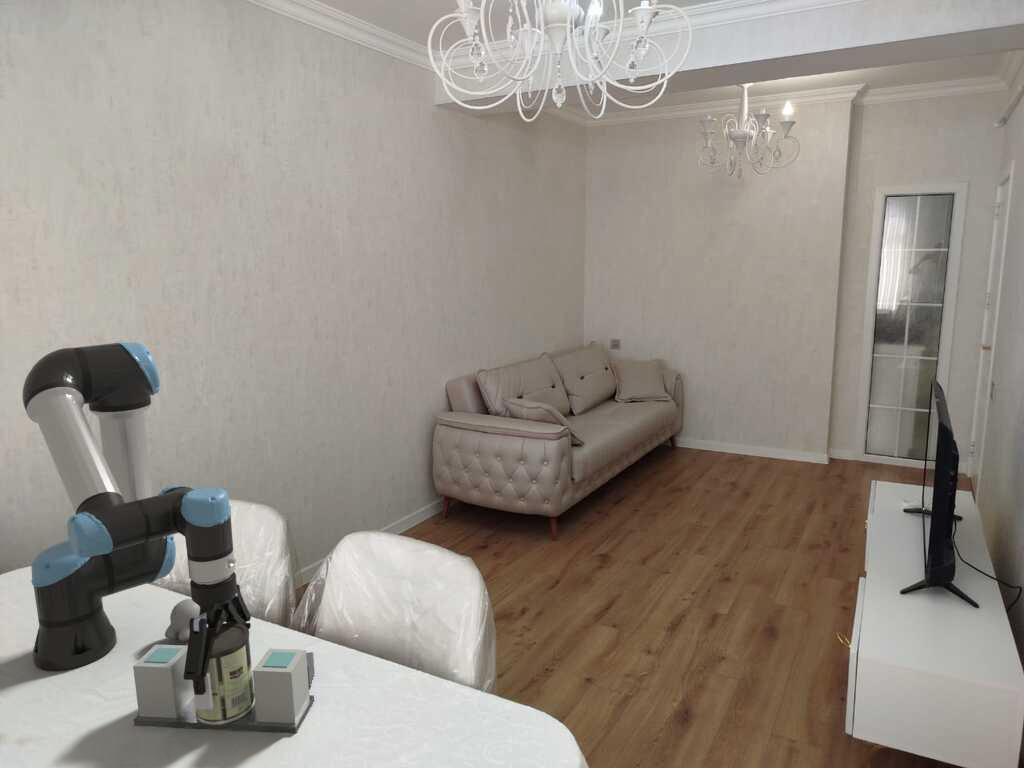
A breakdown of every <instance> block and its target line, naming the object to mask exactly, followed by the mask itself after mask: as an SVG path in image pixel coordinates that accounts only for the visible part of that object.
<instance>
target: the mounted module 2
mask: <svg viewBox="0 0 1024 768" xmlns="http://www.w3.org/2000/svg"><path fill="white" fill-rule="evenodd" d="M306 653H307V650H306V649H291V648H290V649H288V648H286V649H285V648H268V649H267V651H266V652H265V654H264V655H263V656H262V657H261V659H260V660H259V662H258V663H257V664H256V665H255V667H254V668H253V669H252V677H253V687H254V693H255V704H256V715H257V722H278V723H296V721H297V719H298V718H299V716H300V714H301V712H302V711H303V709H304V707H305V706H306V704H307V702H308V700H309V695H310V690H309V685H308V672H307V658H306Z"/></svg>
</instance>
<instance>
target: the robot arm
mask: <svg viewBox="0 0 1024 768" xmlns="http://www.w3.org/2000/svg"><path fill="white" fill-rule="evenodd" d="M160 386H161V380H160V375H159V370H158V367H157V364H156V362H155V360H154V357H153V356H152V353H151V352H150V351H149V349H148V348H147V347H146V346H145V345H143V344H141V343H139V342H113V343H105V344H104V343H103V344H95V345H87V346H85V345H84V346H78V347H65V348H60V349H59V348H58V349H57V350H54V351H51V352H50V353H47V354H46V355H44V356H43V357H41V358H40V359H39V360H38V361H37V362H36V363H35V364H34V365H33V366H32V368H31V369H30V371H29V372H28V374H27V376H26V378H25V380H24V383H23V386H22V403H23V408H24V409H25V411H26V415H27V417H28V419H30V420H31V421H32V422H33V423H35V424H38V428H39V430H40V432H41V434H42V436H43V439H44V441H45V444H46V446H47V449H48V451H49V453H50V455H51V458H52V460H53V463H54V465H55V468H56V470H57V472H58V475H59V478H60V480H61V481H62V484H63V486H64V489H65V491H66V494H67V496H68V498H69V501H70V504H71V505H72V508H73V510H74V512H75V513H74V515H72V516H70V517H69V518H68V520H67V524H66V526H67V528H66V529H67V530H66V531H67V536H68V539H67V540H64V541H60V542H58V543H56V544H53V545H51V546H49V547H47V548H45V549H44V550H42V551H41V552H39V554H37V555H36V556H35V557H34V559H33V560H32V562H31V581H30V582H31V584H32V587H33V592H34V599H35V606H36V611H37V612H36V613H37V619H38V630H37V632H36V633H37V634H36V637H35V642H34V646H33V650H32V654H33V655H32V656H33V661H34V665H35V666H36V667H37V668H38V669H39V670H40V669H41V670H44V671H50V672H51V671H54V672H55V671H57V672H58V671H64V670H71V669H75V668H79V667H82V666H85V665H89V664H91V663H93V662H95V661H98V660H99V659H101V658H103V657H104V656H106V655H107V654H109V653H110V652H111V651H112V650H113V649H114V648H115V646H116V644H117V642H118V641H117V631H116V628H115V627H114V626H113V625H112V623H111V621H110V619H109V617H108V615H107V613H106V612H105V610H104V606H103V605H104V604H103V598H105V597H108V596H111V595H114V594H118V593H120V592H124V591H127V590H130V589H133V588H138V587H140V586H143V585H146V584H152V583H154V582H155V581H158V580H161V579H163V578H165V577H167V576H168V575H169V574H170V573H171V572H172V571H173V569H174V566H175V563H176V555H177V552H176V550H177V548H176V542H175V541H176V540H175V541H174V537H175V534H176V535H177V534H180V535H181V536H183V537H184V538H185V549H186V554H187V567H188V568H187V569H188V576H189V577H188V578H189V579H190V581H189V586H190V595H191V599H192V600H193V601H194V602H195V603H196V604H198V605H199V606H200V613H199V617H198V618H191V619H190V621H189V629H190V634H189V640H187V646H188V648H187V655H186V662H185V670H184V680H193V686H194V693H195V703H196V709H212V708H213V699H212V689H211V679H210V673H207V670H208V665H209V661H210V657H211V653H212V648H213V644H214V640H215V637H216V636H217V635H218V634H219V631H220V627H221V625H222V624H223V623H238V624H242V625H244V626H246V627H247V628H248V630H251V625H252V624H251V622H250V621H251V619H252V617H251V613H250V611H249V608H248V607H247V605H246V603H245V600H244V598H243V595H242V593H241V588H240V584H238V582H237V573H236V572H235V570H236V565H235V563H236V561H237V560H236V558H235V555H234V544H233V543H234V541H233V529H232V526H233V525H232V517H231V514H232V508H231V505H230V500H229V494H228V492H227V491H226V490H225V489H223V488H221V487H213V486H212V487H211V486H209V487H201V488H192V487H189V486H186V485H182V484H172V485H169V486H167V487H166V488H163V490H161V491H159V493H158V495H153V487H152V478H151V477H152V476H151V469H150V468H151V467H150V458H149V457H150V456H149V449H148V447H149V446H148V436H147V427H146V417H145V412H146V411H147V410H148V409H149V407H151V405H152V399H151V398H152V397H151V396H154V395H156V394H158V393H159V391H160ZM87 404H88V410H89V412H90V413H92V414H93V415H95V416H96V417H98V423H99V424H98V425H99V431H100V440H101V447H100V445H99V443H98V441H97V438H96V436H95V434H94V432H93V430H92V428H91V426H90V422H89V420H88V418H87V416H86V414H85V412H84V410H83V409H84V405H87ZM207 628H209V629H213V630H207Z"/></svg>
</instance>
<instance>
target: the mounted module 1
mask: <svg viewBox="0 0 1024 768" xmlns="http://www.w3.org/2000/svg"><path fill="white" fill-rule="evenodd" d="M187 648H188V645H181V644H180V645H179V644H177V645H175V644H154V645H153V646H152V647H151V648H150V649H149V650H148V651H147V652H146V653H145V654H144V655H143V656H141V658H139V660H138V661H137V662H135V663H134V665H132V670H133V678H134V685H135V694H136V701H137V710H138V714H139V716H143V717H166V718H177V717H178V715H179V714H180V713H181V712H182V711H183V709H184V708H185V707H186V706H187V705H188V703H189V702H190V701H191V700H192V699H193V697H194V689H193V681H192V680H184V670H185V662H186V655H187Z"/></svg>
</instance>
